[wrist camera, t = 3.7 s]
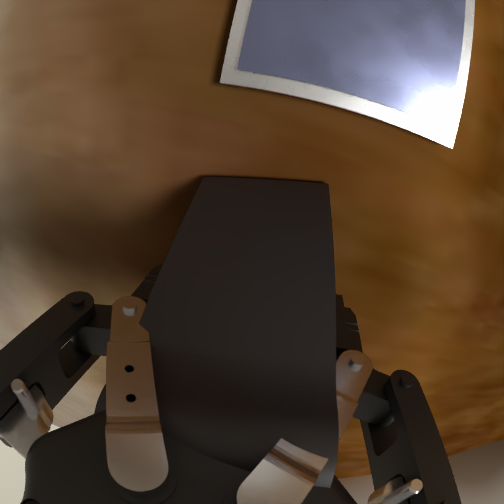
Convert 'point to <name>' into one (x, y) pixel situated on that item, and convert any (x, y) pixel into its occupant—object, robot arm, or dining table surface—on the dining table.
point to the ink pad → (359, 57)
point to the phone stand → (248, 324)
